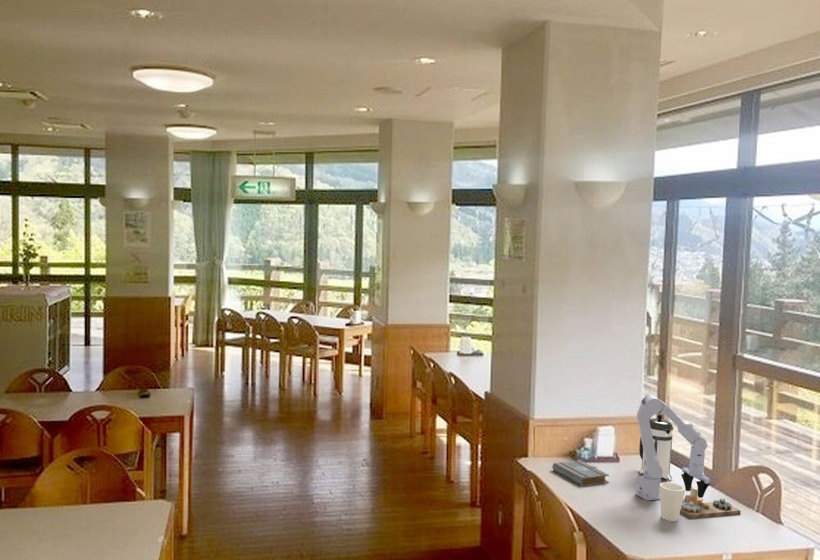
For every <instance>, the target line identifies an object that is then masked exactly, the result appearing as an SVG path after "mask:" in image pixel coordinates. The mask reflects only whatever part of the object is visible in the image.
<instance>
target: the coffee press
mask: <svg viewBox="0 0 820 560" xmlns="http://www.w3.org/2000/svg"><path fill="white" fill-rule="evenodd" d="M649 422H650V427H651V432H652V437H653V442H654V447H655V452H656V456H657V459H658V462H659V465H660V467H661V468H662V470H663V473H662V476H661V479H663V478H666V479H667V480H668V479H671V480H672V477H673V476H672V475H671V459H672V457H671V456H672V445H673V431H674V429H675V428H674V426H673V423H671V422H670V421H669V420H667V419H663V414H658V415H657V418H653V417H651V418H650V420H649ZM639 456H640V459H641V469H640V470H641V471H642V473H641V471H638V474H639V475H642V474H644V472H645V471H646V470H645V469H644V450H643V445H642V440H641V436H640V438H639Z"/></svg>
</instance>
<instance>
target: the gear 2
mask: <svg viewBox="0 0 820 560" xmlns="http://www.w3.org/2000/svg"><path fill="white" fill-rule="evenodd" d="M712 502H713V506H715V507H716V508H717V507H718V508H719V509H725V510H727V509H729V510H730V509H731V506H732V503H731V502H728V501H726V499H724V498H720V499H717V500H716V499H715V500H713V501H712Z"/></svg>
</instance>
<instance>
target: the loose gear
mask: <svg viewBox="0 0 820 560" xmlns="http://www.w3.org/2000/svg"><path fill="white" fill-rule="evenodd" d="M689 492H690V494H686V495H684V500H685V501H686V503H687V502H689V501H692V502H694V504H695V503H696V504H697V503H703V498H699V497H698V487H694V486H693V487H692V486H691V491H689Z"/></svg>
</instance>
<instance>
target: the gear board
mask: <svg viewBox="0 0 820 560" xmlns="http://www.w3.org/2000/svg"><path fill="white" fill-rule="evenodd" d="M694 504H695V503H694ZM695 505H699V507H701V508H700V512H696V513H693V512H691V511H690V512H688V511H687V510H683V508H682V505H681V509H680V514H681V515H682V516H683V517H685V518H687V519H689V520H690V519H700V518H703V519H704V518H711V517H713V518H714V517H723V516H733V515H732V514H735V515H741V510H740V508H737V507H735V506H731V509H730V510H729V509H727V510H725V509H719V508H718V507H717V508H716V507H715V506H713V501H711V502H710V501H709V502H702V503H697V504H695ZM680 514H679V515H680Z"/></svg>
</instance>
